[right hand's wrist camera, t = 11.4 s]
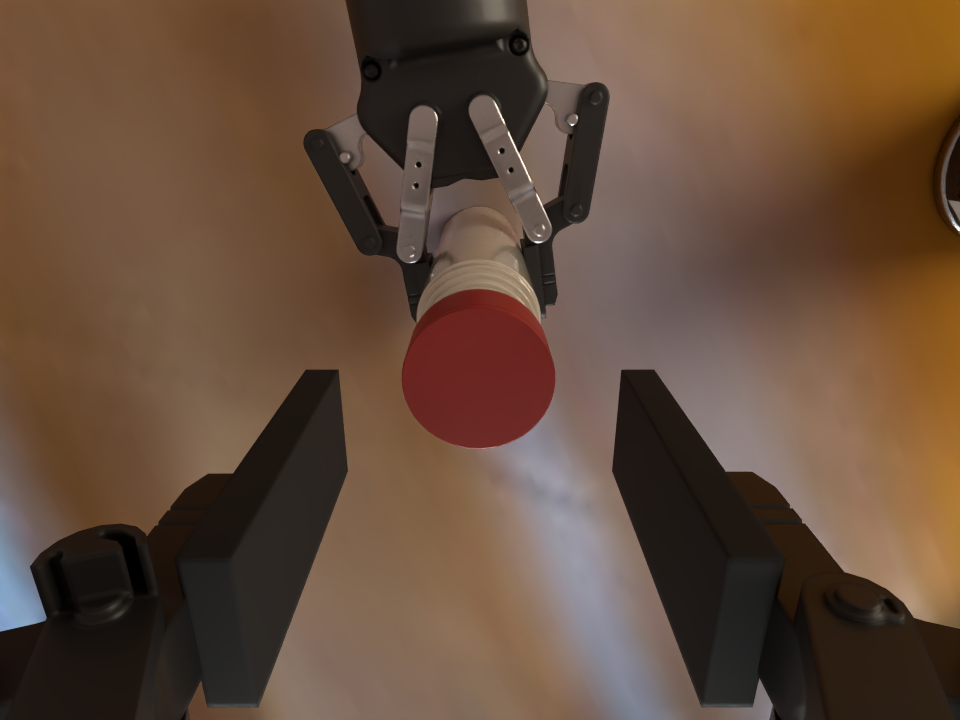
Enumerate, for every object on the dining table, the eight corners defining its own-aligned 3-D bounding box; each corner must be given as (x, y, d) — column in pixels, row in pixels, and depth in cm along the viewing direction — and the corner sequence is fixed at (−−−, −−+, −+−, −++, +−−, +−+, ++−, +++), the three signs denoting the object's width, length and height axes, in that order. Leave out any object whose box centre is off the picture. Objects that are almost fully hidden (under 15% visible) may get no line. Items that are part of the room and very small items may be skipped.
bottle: (512, 201, 35) (550, 289, 16) (521, 278, 36) (564, 436, 18) (434, 211, 35) (385, 310, 17) (446, 288, 37) (413, 454, 18)
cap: (540, 279, 18) (548, 298, 16) (553, 408, 20) (561, 440, 18) (398, 297, 18) (388, 318, 16) (421, 424, 20) (415, 457, 18)
